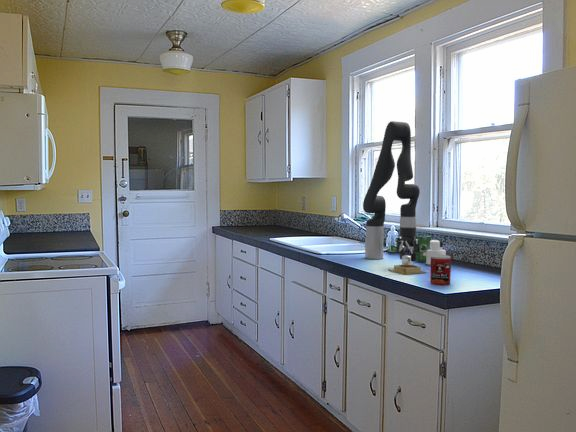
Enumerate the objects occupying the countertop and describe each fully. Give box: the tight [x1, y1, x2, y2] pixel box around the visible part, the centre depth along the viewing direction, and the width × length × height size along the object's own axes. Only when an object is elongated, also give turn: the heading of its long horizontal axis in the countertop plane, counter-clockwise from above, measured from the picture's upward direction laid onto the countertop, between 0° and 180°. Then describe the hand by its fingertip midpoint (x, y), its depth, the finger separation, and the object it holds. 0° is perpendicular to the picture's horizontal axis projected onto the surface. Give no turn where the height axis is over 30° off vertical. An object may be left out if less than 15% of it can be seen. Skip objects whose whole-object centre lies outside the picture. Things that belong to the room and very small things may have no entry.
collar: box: [388, 264, 428, 276], centre depth 237 cm, size 12×12×3 cm
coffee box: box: [415, 235, 432, 263], centre depth 269 cm, size 8×3×13 cm, turn 117°
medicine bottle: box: [425, 239, 447, 266], centre depth 260 cm, size 7×7×12 cm
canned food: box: [429, 255, 452, 286], centre depth 210 cm, size 8×8×11 cm
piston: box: [401, 254, 413, 265], centre depth 251 cm, size 5×5×5 cm
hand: (407, 260), depth 250 cm, fingers open, 8 cm apart
